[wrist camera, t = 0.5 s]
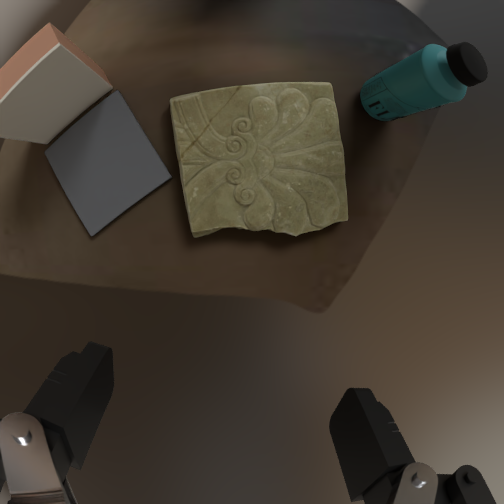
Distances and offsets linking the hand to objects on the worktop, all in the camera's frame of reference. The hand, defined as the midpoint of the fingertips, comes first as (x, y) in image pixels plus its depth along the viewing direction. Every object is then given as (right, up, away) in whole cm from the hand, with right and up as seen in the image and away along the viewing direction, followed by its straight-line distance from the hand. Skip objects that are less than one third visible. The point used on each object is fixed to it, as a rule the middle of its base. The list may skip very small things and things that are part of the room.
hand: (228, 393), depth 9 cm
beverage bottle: (+18, +25, +25) cm, 40 cm away
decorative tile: (+2, +16, +27) cm, 31 cm away
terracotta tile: (-23, +24, +21) cm, 40 cm away
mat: (-18, +16, +24) cm, 34 cm away
